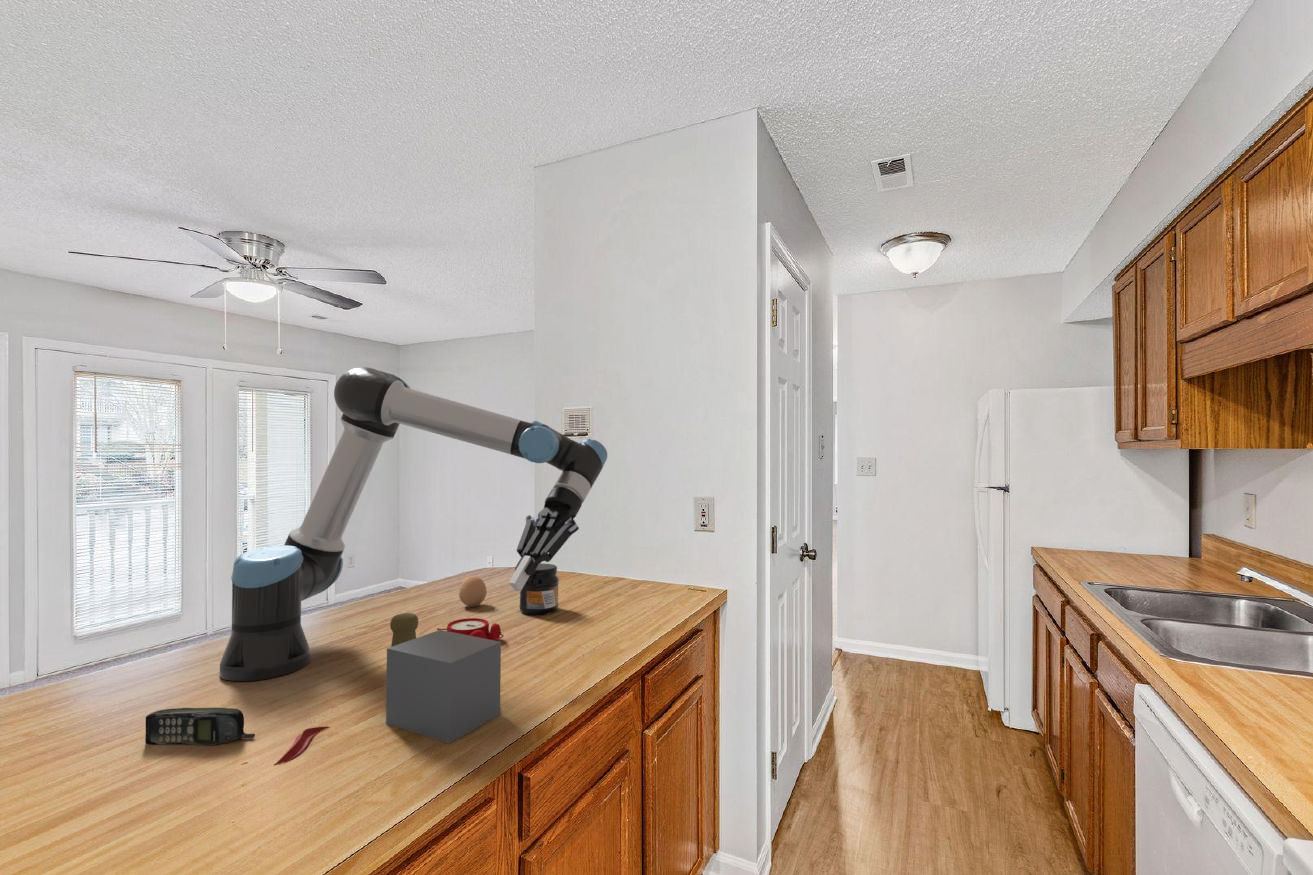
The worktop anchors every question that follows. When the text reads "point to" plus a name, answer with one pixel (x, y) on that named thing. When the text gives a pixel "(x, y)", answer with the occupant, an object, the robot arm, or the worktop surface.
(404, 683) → the gray box
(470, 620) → the alarm clock
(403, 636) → the cork
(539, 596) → the supplement container
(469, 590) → the egg
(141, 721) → the worktop surface
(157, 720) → the mobile phone
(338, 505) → the robot arm
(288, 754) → the cayenne pepper
